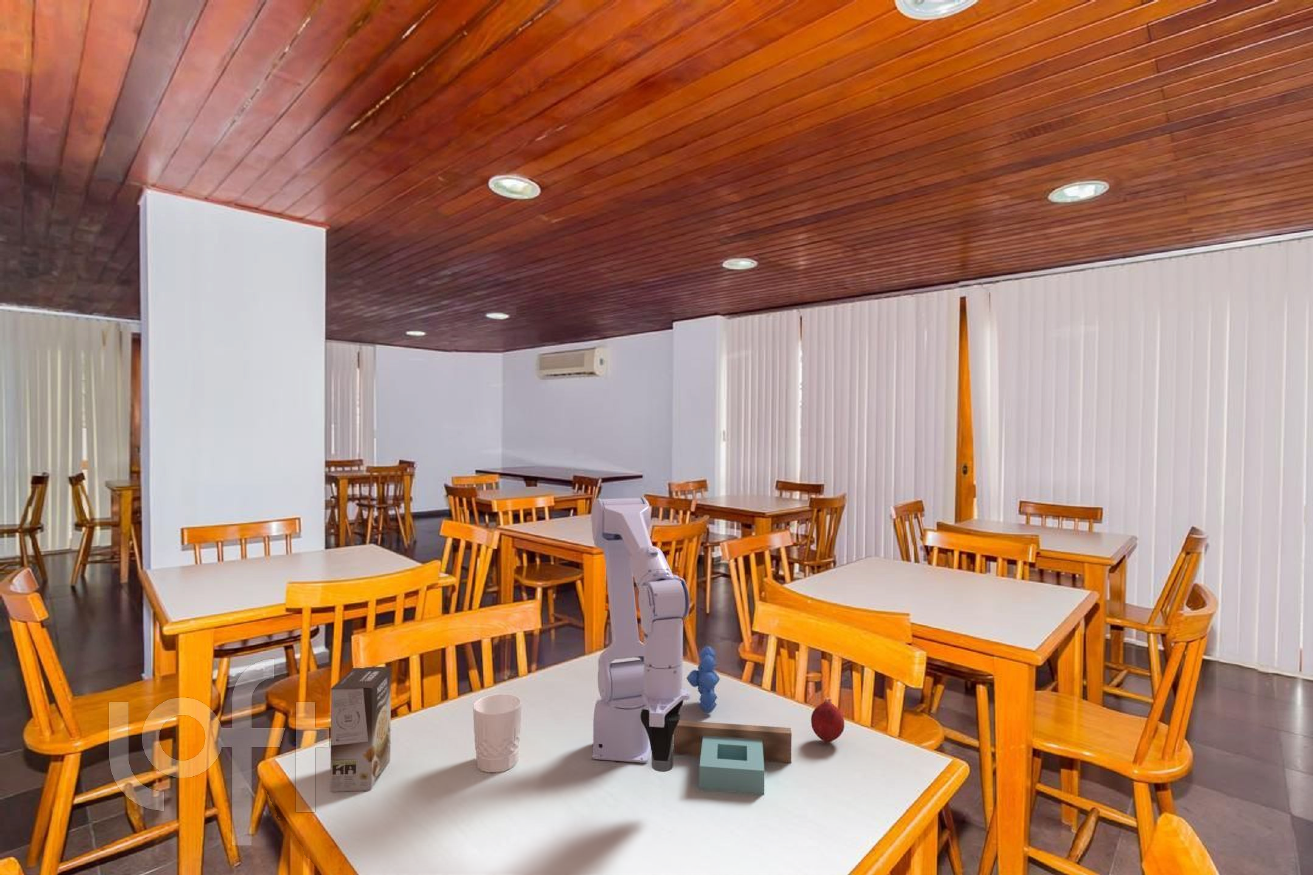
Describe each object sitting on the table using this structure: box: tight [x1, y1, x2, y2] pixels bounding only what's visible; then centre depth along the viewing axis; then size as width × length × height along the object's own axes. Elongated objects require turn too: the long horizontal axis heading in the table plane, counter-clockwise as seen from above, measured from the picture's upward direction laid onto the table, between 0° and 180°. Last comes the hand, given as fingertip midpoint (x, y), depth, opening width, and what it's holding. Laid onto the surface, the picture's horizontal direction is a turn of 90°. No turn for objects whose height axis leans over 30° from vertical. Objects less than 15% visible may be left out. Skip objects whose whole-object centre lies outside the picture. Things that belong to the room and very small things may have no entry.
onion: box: [810, 697, 845, 744], centre depth 114 cm, size 6×6×8 cm
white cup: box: [472, 693, 523, 773], centre depth 107 cm, size 8×8×10 cm
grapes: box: [686, 645, 721, 714], centre depth 128 cm, size 12×7×12 cm, turn 178°
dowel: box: [651, 735, 674, 773], centre depth 94 cm, size 3×3×7 cm
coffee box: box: [329, 666, 392, 793], centre depth 102 cm, size 9×6×16 cm
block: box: [698, 735, 765, 796], centre depth 104 cm, size 10×10×4 cm
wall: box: [673, 720, 793, 764], centre depth 110 cm, size 20×2×5 cm, turn 82°
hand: (662, 752), depth 94 cm, fingers closed on dowel, 3 cm apart
